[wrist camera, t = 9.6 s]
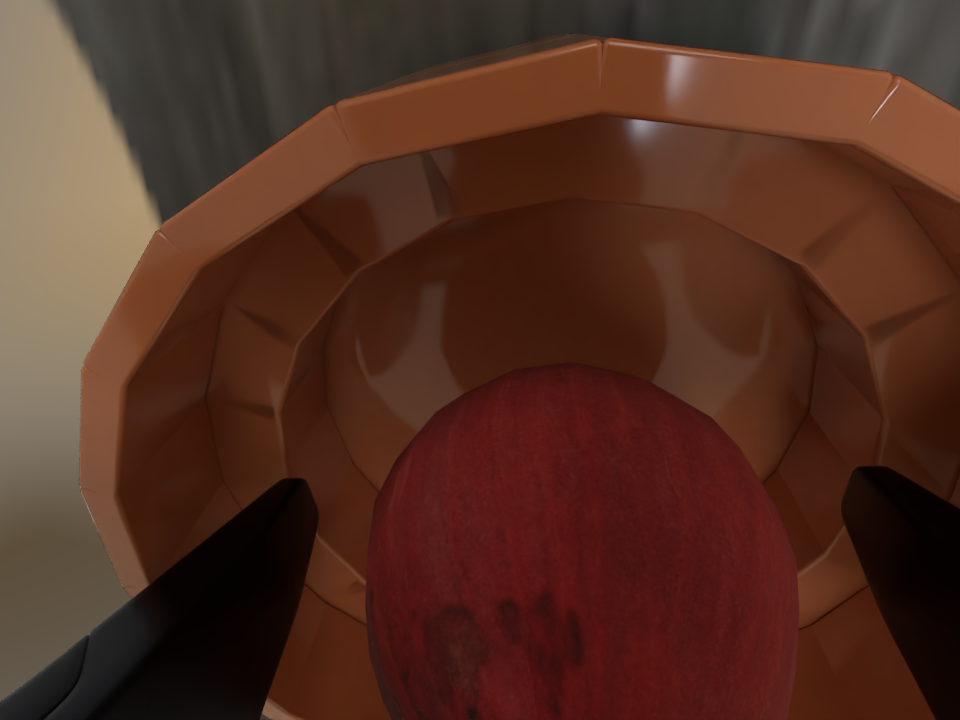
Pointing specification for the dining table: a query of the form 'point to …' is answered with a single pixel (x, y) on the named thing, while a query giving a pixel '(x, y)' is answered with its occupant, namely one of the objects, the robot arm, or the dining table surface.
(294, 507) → the robot arm
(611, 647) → the onion
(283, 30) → the dining table surface
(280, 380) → the bowl
